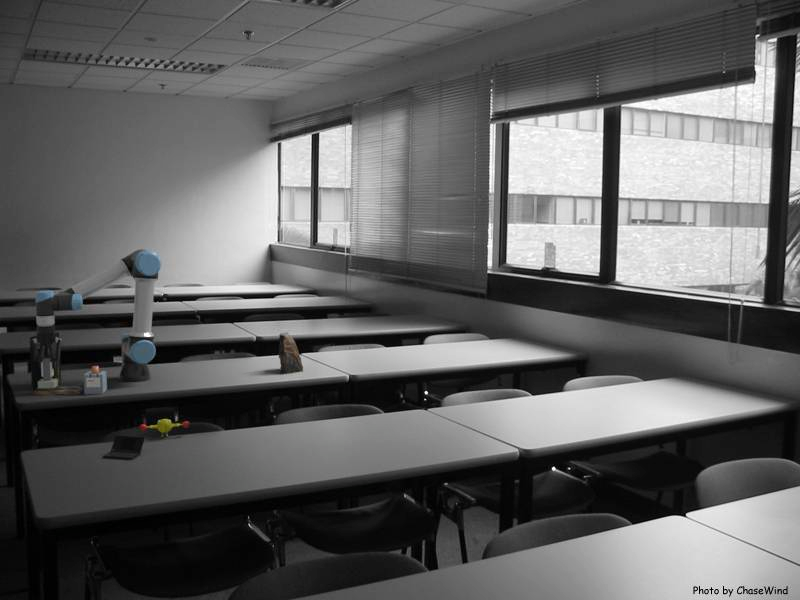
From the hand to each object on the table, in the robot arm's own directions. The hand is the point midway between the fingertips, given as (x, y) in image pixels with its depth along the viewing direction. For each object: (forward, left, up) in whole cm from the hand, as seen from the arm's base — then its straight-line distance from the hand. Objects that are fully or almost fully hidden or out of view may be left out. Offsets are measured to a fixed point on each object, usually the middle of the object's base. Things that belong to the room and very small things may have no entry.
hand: (47, 375), depth 356 cm
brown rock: (-110, -41, -8) cm, 117 cm away
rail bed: (-4, 0, -8) cm, 9 cm away
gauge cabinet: (-21, 0, -8) cm, 22 cm away
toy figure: (-63, +76, -8) cm, 99 cm away
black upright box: (+5, -15, -8) cm, 18 cm away
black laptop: (-53, +97, -9) cm, 111 cm away
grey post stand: (0, 0, -5) cm, 5 cm away
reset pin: (-21, 0, -1) cm, 21 cm away
